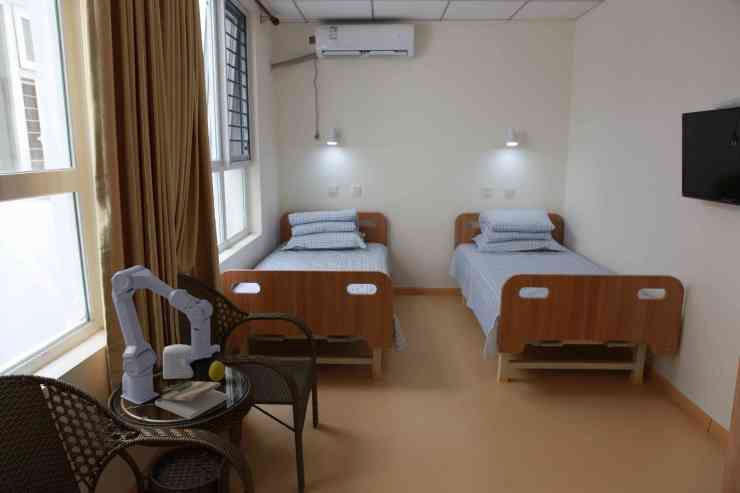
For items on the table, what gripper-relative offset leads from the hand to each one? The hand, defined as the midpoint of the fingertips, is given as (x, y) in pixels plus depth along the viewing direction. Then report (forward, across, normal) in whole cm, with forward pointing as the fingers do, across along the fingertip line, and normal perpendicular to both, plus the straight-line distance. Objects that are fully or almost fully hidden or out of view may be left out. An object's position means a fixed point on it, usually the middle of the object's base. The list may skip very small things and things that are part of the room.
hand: (201, 378), depth 162 cm
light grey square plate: (+9, 0, +4) cm, 10 cm away
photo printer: (+10, +10, +22) cm, 26 cm away
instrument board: (+6, 0, +5) cm, 8 cm away
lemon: (+10, +15, +8) cm, 20 cm away
